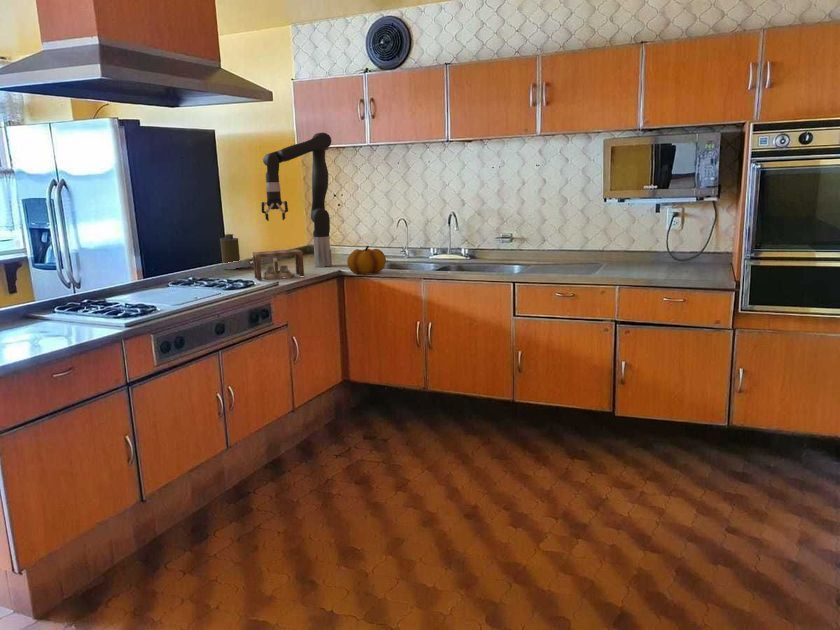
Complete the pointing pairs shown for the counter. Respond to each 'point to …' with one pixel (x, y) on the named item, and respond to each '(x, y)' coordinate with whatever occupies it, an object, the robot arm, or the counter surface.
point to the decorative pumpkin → (366, 261)
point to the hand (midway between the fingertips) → (275, 220)
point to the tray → (276, 271)
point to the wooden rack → (295, 252)
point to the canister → (229, 249)
